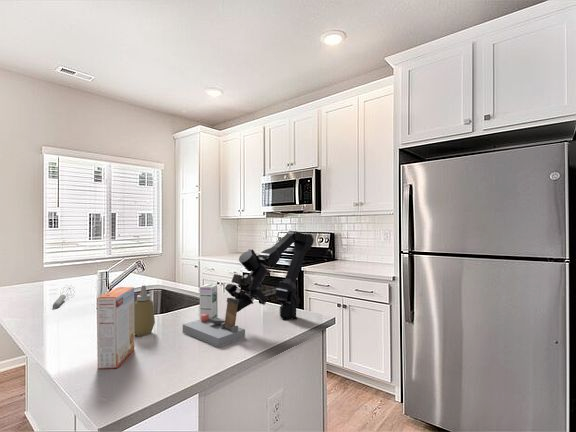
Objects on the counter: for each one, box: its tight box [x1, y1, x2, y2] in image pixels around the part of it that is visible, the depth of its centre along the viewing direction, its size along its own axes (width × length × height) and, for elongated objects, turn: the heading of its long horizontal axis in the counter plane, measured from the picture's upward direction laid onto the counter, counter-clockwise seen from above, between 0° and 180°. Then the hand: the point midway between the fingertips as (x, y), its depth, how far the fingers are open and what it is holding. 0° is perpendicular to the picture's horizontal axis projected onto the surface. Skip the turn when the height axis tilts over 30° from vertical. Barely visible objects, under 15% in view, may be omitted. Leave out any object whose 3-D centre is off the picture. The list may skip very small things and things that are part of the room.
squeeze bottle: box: [134, 284, 156, 337], centre depth 125 cm, size 8×8×18 cm
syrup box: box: [199, 283, 219, 320], centre depth 144 cm, size 6×6×14 cm
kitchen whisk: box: [52, 284, 76, 309], centre depth 172 cm, size 6×34×6 cm, turn 23°
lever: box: [224, 297, 239, 330], centre depth 122 cm, size 2×4×11 cm, turn 49°
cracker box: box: [96, 286, 135, 370], centre depth 103 cm, size 14×6×21 cm, turn 5°
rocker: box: [208, 318, 225, 324], centre depth 127 cm, size 5×4×1 cm
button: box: [201, 314, 209, 322], centre depth 131 cm, size 3×3×2 cm
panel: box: [182, 317, 246, 348], centre depth 124 cm, size 12×22×5 cm, turn 49°
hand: (233, 313), depth 123 cm, fingers closed, pressing on lever
